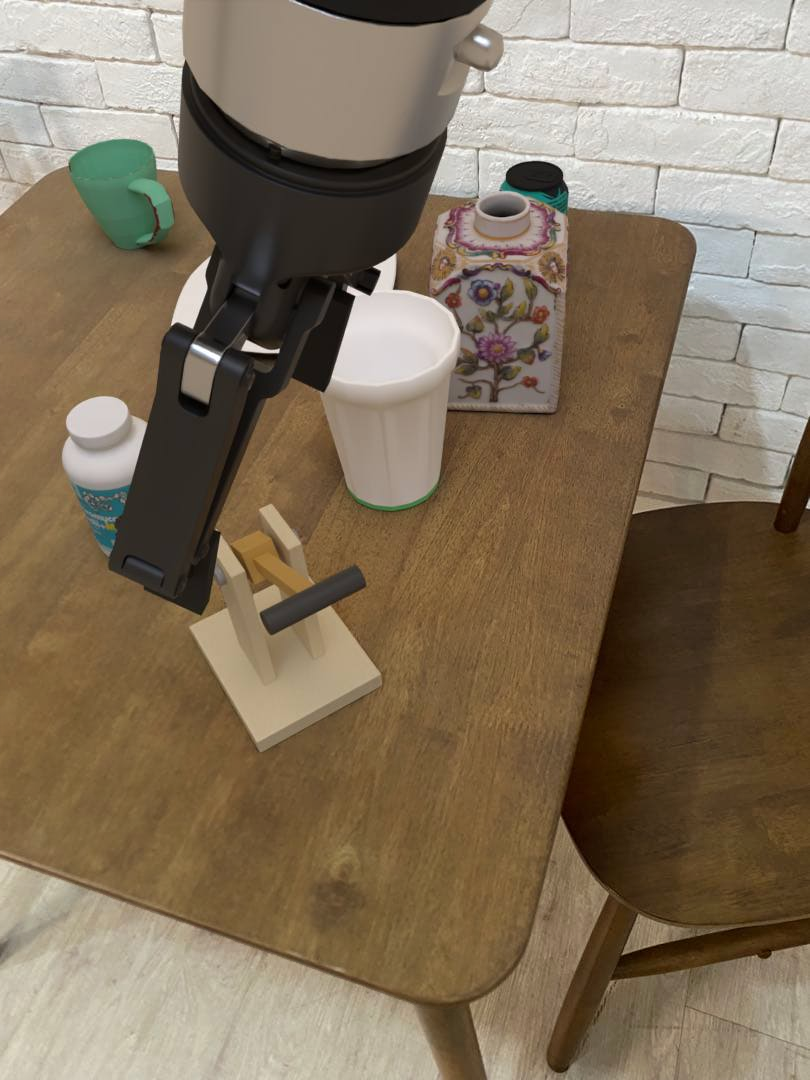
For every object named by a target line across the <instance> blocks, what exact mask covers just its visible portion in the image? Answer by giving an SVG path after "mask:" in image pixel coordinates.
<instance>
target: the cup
mask: <svg viewBox="0 0 810 1080" xmlns="http://www.w3.org/2000/svg"><path fill="white" fill-rule="evenodd" d="M352 295H354V296H356V297H355V300H354V303H353V307H352V310H351V313H350V317H349V320H348V323H347V327H346V330H345V333H344V337H343V340H342V343H341V347H340V350H339V354H338V357H337V360H336V364H335V367H334V370H333V374H332V377H331V380H330V383H329V385H328V387H327V389H326V390H325V392H324V393H323V392H321V391H319V390H318V393H319V396H320V400H321V403H322V406H323V410H324V413H325V416H326V419H327V420H326V421H327V423H328V426H329V429H330V432H331V436H332V439H333V442H334V447H335V449H336V452H337V456H338V458H339V462H340V465H341V468H342V472H343V476H344V480H345V484H346V487H347V492H348V493H349V494H350V495H351V496H352V498H353V499H354V500H355V501H356V502H357V503H358V504H361V505H362V506H365V507H368V508H371V509H373V510H379V511H385V512H394V511H395V512H396V511H401V510H405V509H411V508H413V507H415V506H417V505H419V504H421V503H423V502H425V501H426V500H428V499H429V498H430V497H431V496H432V494H433V493H434V492H435V491H436V490H437V488H438V485H439V483H440V480H441V479H440V478H441V470H442V469H441V467H442V460H443V451H444V449H443V448H444V442H445V441H444V440H445V431H446V421H447V412H448V410H447V404H448V394H449V385H450V375H451V371H452V370H453V369H454V368H455V366H456V362H457V358H458V355H459V351H460V329H459V327H458V325H457V322H456V320H455V318H454V315H453V313H452V312H450V311H449V310H448V309H446V308H445V307H444V306H443V305H441V304H440V303H439V302H438V301H436V300H435V299H433V298H430V296H426V295H424V294H420V293H417V292H414V291H410V290H405V289H404V290H401V289H393V290H388V289H377V290H374V291H373V293H372V294H371V296H369V295H367V294H364V293H362V292H360V293H354V294H352Z"/></svg>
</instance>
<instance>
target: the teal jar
mask: <svg viewBox="0 0 810 1080" xmlns="http://www.w3.org/2000/svg"><path fill="white" fill-rule="evenodd" d="M499 191H512V192H517V193H519V194H521V195H523V196H528V197H532V198H534V199H536V200H538V201H541V202H544V203H546V204H548V205H549V206H551V207H553V208H555V209H557V210H558V211H559V212H561V213H562V214H564V215H566V216H567V217H568V210H569V197H570V191H569V187H568V185H567V183H566V181H565V180H564V171H563V169H562V168H561V167H559V166H558V165H556V164H554V163H552V162H549V161H544V160H543V161H542V160H526V161H522V162H519V163H515V164H514V165H512V166H510V167H509V168H508V169H507V170H506V172H505V179H504V180H503V182H502V184H501V185H500V186H499V190H498V192H499Z"/></svg>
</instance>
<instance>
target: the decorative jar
mask: <svg viewBox="0 0 810 1080" xmlns="http://www.w3.org/2000/svg"><path fill="white" fill-rule="evenodd" d="M570 228H571V227H570V220H569V218H568V215H567V216H566V215H564V214H562V213H561V212H559V211H558V210H557V209H555V208H553V207H551V206H549V205H548V204H546V203H544V202H541V201H538V200H536V199H534V198H532V197H528V196H523V195H521V194H519V193H517V192H512V191H499V190H498V191H492V192H489V193H486V194H484V195H482V196H480V197H477V198H476V199H474V200H468V201H466V202H465V203H462V204H459V205H457V206H454V207H452V208H450V209H449V210H446V211H444V212H442V213H440V214H439V215H438V218H437V220H436V223H435V228H434V230H433V234H432V235H433V238H432V248H431V253H430V255H431V262H430V266H429V278H428V279H429V280H428V286H427V289H428V292H429V297H430V298H433V299H435V300H436V301H438V302H439V303H440V304H441V305H443V306H444V307H445V308H446V309H448V310H449V311H450V312H452V313H453V315H454V318H455V320H456V322H457V325H458V327H459V329H460V351H459V355H458V358H457V362H456V366H455V368H454V369H453V370H452V371H451V375H450V385H449V394H448V404H447V411H448V410H449V411H455V410H456V411H465V412H466V411H471V412H497V413H499V412H500V413H517V414H518V413H519V414H520V413H525V414H526V413H527V414H528V413H529V414H553V413H555V412H556V411H557V408H558V403H559V396H560V385H561V375H562V362H563V346H564V333H565V326H566V322H567V307H566V300H567V299H566V295H567V294H566V293H567V290H568V288H569V281H568V277H569V270H570V266H569V260H570V243H569V242H570V241H569V239H570V235H569V234H570V233H569V231H570Z"/></svg>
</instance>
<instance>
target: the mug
mask: <svg viewBox="0 0 810 1080" xmlns="http://www.w3.org/2000/svg"><path fill="white" fill-rule="evenodd" d="M67 164H68V167H67V172H68V175H69V178H70V180H71V182H72V183H73V186H74V187H75V190H76V191H77V193H78V194H79V196H80V198H81V199H82V201H83V203H84V204H85V206H86V207H87V209H88V211H89V212H90V214H91V215H92V216H93V218H94V219H95V221H96V222H97V224H98V225H99V226H100V228H101V229H102V231H104V233H105V234H106V235H107V236H108V237H109V239H110V240H111V241H112V242H113V244H114V245H115V246H116V247H117V248H119V249H122V250H136V249H137V250H138V249H141V248H144V247H146V246H147V245H156V244H159V243H162V242H164V241H165V240H166V238H167V237H168V236H169V233H170V231H171V229H172V228H173V225H174V223H175V222H176V216H175V210H174V205H173V200H172V197H171V196H170V194H169V192H168V190H167V189H166V187H165V186H164V185H163V184H161V183H159V182H158V171H157V169H158V168H157V159H156V155H155V151H154V148H153V146H151V145H150V144H148V143H147V142H145V141H143V140H139V139H134V138H133V139H132V138H115V139H114V138H113V139H108V140H102V141H99V142H96V143H93V144H89V145H87V146H85V147H83V148H82V149H79V150H78V151H76V152H75V153H74V154H73V155H72V156H70V157H69V160H68V162H67Z"/></svg>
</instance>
